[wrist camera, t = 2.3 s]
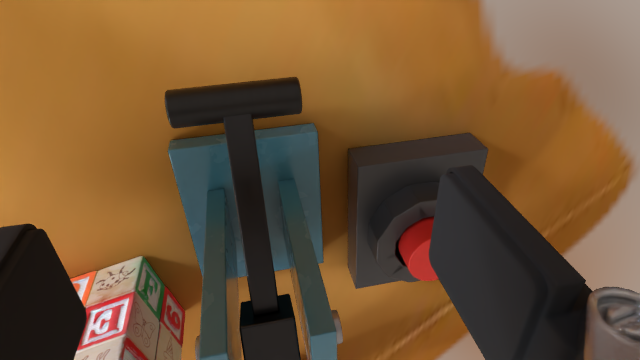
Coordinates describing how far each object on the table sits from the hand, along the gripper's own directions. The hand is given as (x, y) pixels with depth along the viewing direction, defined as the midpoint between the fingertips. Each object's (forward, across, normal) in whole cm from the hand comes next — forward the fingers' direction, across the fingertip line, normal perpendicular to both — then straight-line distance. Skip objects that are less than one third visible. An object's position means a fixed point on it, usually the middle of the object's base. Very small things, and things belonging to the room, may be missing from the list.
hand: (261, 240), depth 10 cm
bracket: (+13, 0, +8) cm, 16 cm away
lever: (+6, 0, +5) cm, 8 cm away
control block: (+14, -10, +10) cm, 20 cm away
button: (+10, -10, +10) cm, 17 cm away
